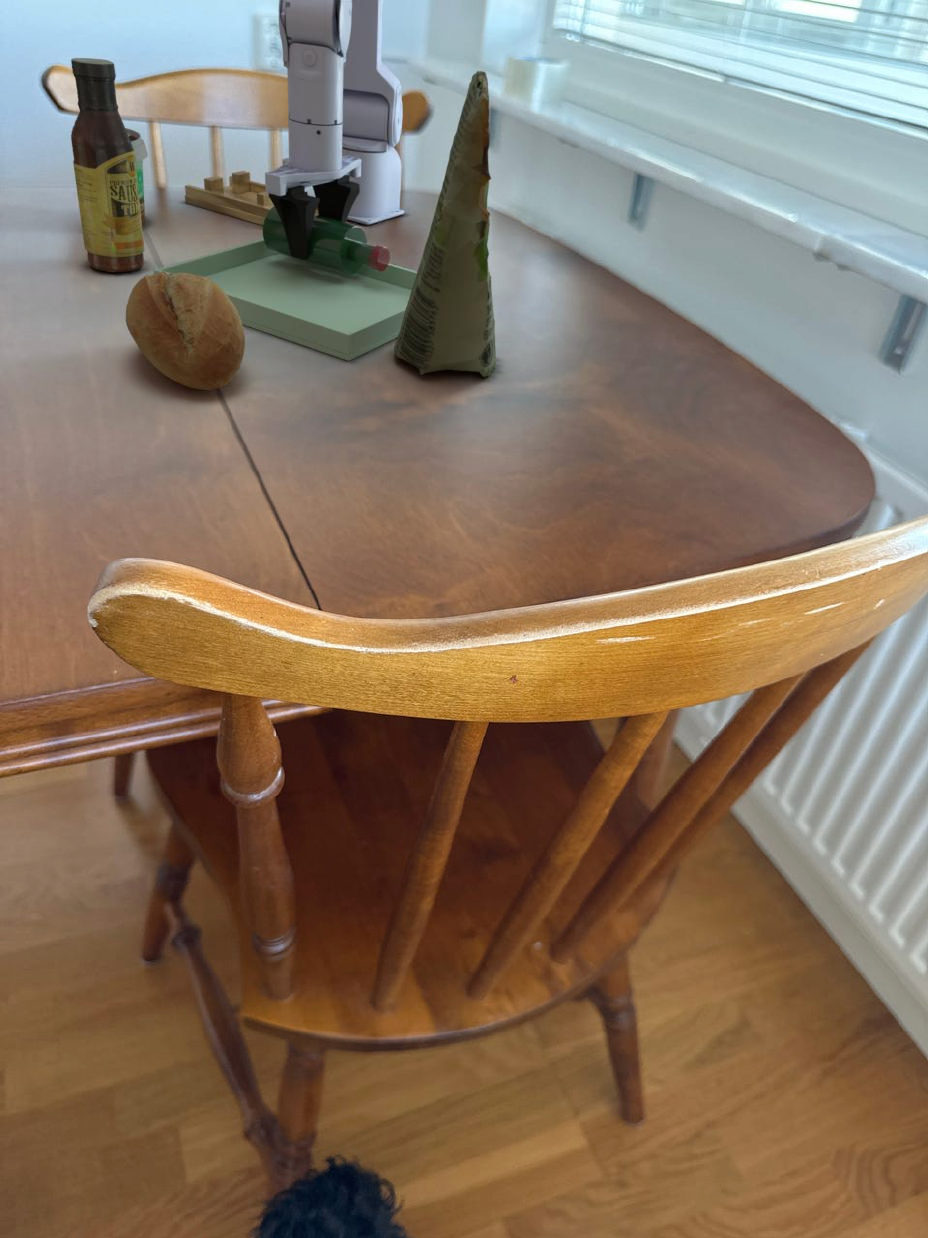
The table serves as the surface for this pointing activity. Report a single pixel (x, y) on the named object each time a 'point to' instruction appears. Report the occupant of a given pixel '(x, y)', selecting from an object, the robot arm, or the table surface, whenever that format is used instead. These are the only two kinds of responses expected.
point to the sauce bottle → (105, 172)
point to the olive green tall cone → (456, 259)
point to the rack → (233, 197)
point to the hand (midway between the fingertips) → (315, 252)
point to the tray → (308, 297)
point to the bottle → (329, 244)
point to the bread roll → (186, 328)
